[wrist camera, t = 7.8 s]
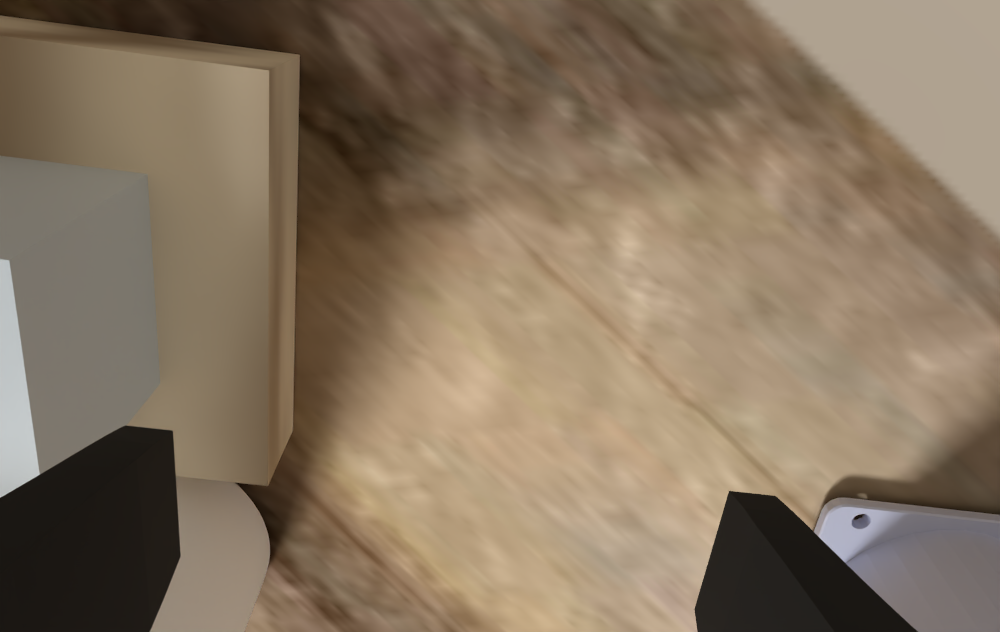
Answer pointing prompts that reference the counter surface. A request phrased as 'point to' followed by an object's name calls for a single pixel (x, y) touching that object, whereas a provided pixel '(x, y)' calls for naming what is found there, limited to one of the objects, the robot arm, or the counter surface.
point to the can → (215, 559)
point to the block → (71, 310)
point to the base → (185, 214)
